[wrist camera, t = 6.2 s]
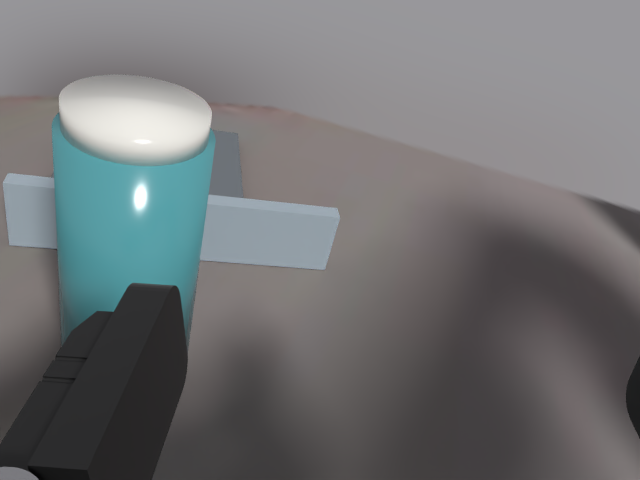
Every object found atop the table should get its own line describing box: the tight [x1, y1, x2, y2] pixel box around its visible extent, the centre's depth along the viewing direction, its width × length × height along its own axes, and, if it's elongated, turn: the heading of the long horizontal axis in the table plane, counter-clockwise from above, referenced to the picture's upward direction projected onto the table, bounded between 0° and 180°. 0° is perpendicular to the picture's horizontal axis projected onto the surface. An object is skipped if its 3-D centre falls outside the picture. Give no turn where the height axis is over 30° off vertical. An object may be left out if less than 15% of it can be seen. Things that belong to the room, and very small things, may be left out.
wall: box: [3, 173, 340, 270], centre depth 33 cm, size 18×1×4 cm, turn 99°
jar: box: [52, 75, 216, 353], centre depth 24 cm, size 6×6×13 cm
